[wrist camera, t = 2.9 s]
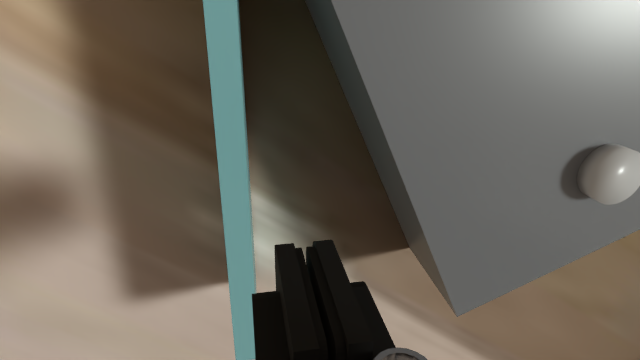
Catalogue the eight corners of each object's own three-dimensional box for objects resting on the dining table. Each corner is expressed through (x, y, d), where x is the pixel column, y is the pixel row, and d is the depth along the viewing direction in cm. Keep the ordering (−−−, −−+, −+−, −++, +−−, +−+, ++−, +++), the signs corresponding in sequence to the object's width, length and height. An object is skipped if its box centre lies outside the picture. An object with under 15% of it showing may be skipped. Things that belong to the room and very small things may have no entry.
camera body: (592, 159, 24) (710, 212, 18) (409, 248, 25) (465, 329, 18) (512, -355, 15) (700, -610, 9) (218, -204, 15) (199, -348, 9)
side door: (257, 279, 23) (261, 358, 18) (236, 281, 23) (233, 361, 18) (232, -159, 16) (225, -244, 10) (199, -162, 15) (175, -249, 10)
